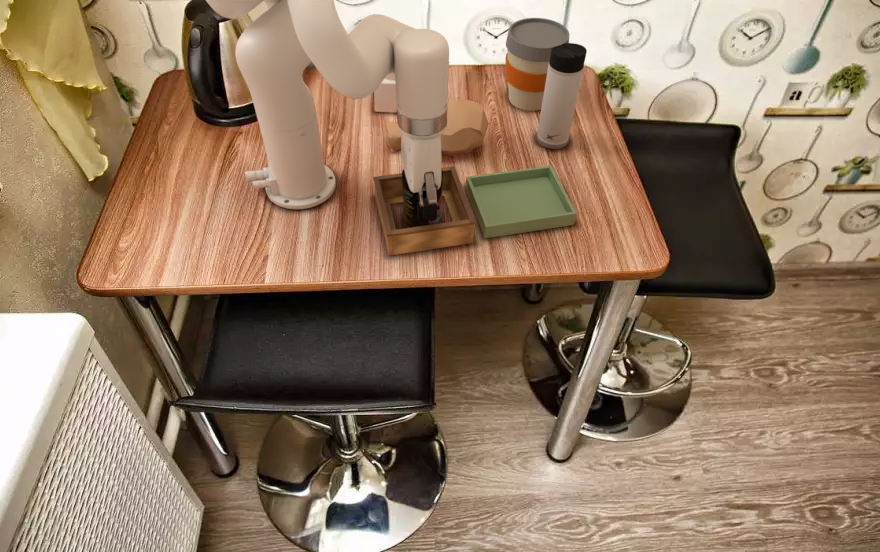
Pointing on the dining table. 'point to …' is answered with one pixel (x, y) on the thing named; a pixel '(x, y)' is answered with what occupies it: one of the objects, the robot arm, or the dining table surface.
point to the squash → (453, 128)
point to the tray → (519, 201)
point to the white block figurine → (386, 95)
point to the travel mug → (560, 94)
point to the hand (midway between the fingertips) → (422, 204)
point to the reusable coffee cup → (531, 59)
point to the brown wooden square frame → (429, 235)
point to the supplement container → (411, 204)
